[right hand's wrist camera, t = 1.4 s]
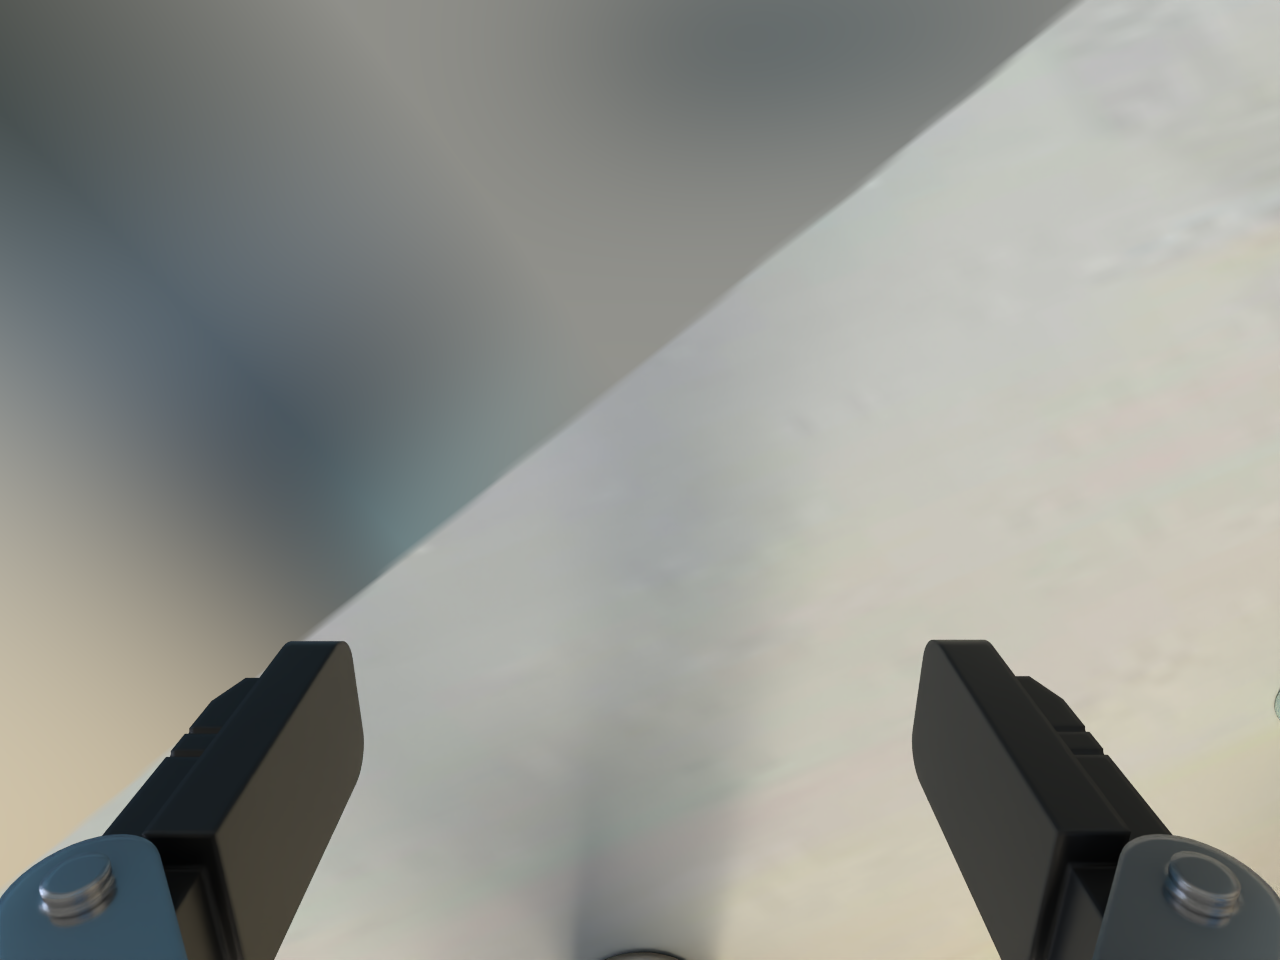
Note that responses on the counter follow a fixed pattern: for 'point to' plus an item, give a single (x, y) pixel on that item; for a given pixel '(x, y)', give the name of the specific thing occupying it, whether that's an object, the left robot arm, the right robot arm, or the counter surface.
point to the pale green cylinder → (1277, 705)
